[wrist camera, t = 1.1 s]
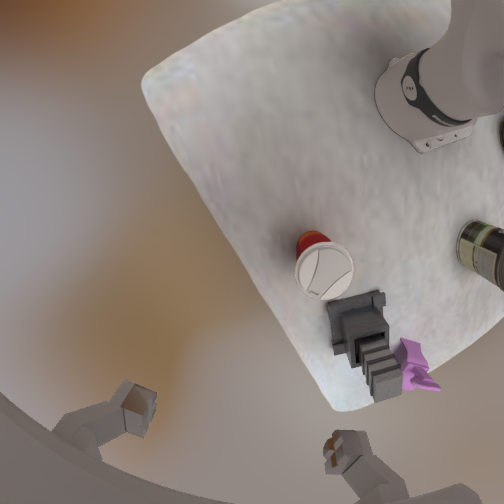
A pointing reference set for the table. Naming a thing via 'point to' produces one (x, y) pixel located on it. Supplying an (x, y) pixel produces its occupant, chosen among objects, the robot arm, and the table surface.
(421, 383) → the toy chair
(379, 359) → the column
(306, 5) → the table surface
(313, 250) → the paper cup
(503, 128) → the apothecary jar
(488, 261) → the coffee can
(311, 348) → the table surface
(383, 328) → the stand
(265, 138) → the table surface
